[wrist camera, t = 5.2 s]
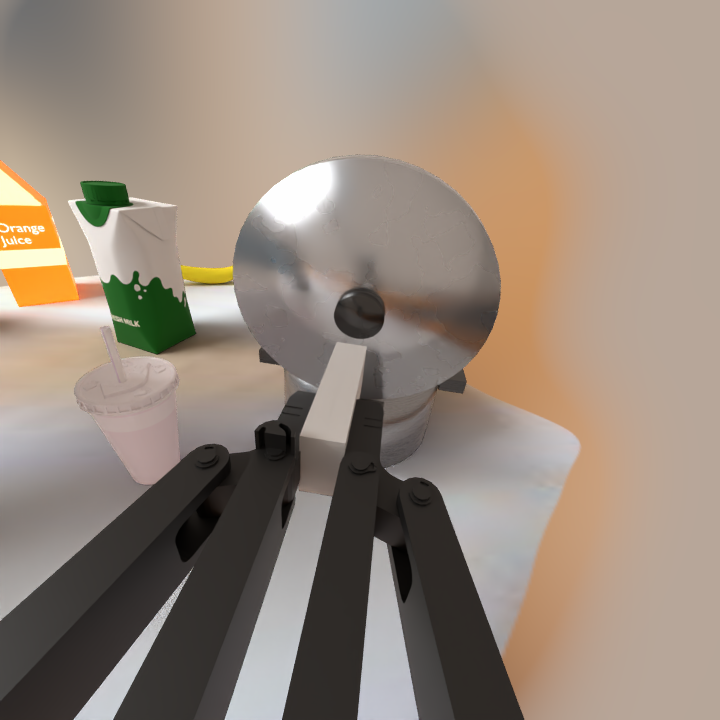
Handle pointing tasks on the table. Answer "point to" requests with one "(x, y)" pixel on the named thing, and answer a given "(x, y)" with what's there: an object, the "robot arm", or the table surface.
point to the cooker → (390, 413)
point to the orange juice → (31, 245)
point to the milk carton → (136, 264)
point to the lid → (367, 273)
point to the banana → (207, 274)
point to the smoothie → (134, 410)
